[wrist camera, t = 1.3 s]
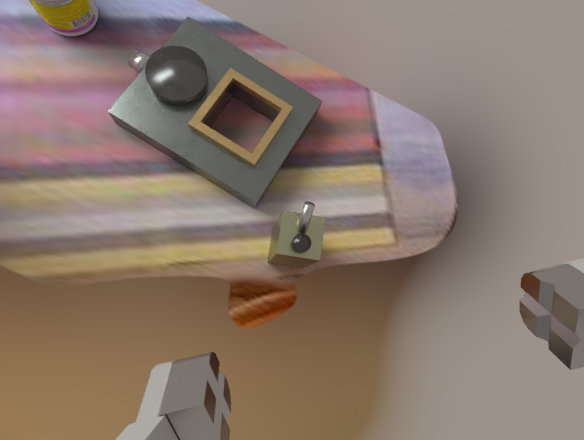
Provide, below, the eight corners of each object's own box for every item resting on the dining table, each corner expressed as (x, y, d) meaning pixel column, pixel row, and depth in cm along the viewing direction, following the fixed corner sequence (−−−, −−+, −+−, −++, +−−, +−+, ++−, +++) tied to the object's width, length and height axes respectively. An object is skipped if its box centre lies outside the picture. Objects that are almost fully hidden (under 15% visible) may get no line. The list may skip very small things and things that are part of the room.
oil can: (267, 262, 44) (280, 249, 33) (273, 221, 46) (288, 195, 34) (302, 268, 45) (327, 257, 34) (308, 227, 46) (333, 203, 35)
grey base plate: (98, 112, 45) (83, 92, 41) (174, 23, 49) (168, -4, 45) (254, 208, 46) (257, 199, 41) (316, 112, 50) (325, 94, 45)
